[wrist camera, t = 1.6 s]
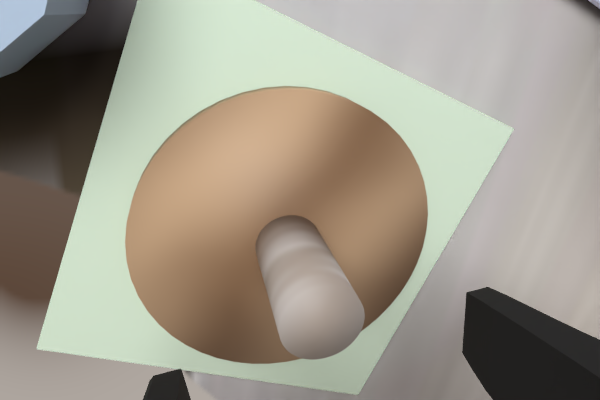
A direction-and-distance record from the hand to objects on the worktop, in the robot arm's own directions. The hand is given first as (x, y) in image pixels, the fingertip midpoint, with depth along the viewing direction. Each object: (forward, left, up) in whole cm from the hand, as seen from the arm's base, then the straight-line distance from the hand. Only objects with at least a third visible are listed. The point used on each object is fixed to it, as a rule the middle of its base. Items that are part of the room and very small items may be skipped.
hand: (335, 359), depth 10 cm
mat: (0, 0, -7) cm, 7 cm away
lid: (0, 0, -6) cm, 6 cm away
